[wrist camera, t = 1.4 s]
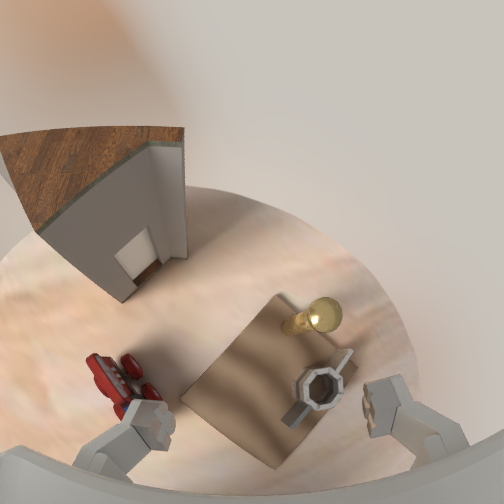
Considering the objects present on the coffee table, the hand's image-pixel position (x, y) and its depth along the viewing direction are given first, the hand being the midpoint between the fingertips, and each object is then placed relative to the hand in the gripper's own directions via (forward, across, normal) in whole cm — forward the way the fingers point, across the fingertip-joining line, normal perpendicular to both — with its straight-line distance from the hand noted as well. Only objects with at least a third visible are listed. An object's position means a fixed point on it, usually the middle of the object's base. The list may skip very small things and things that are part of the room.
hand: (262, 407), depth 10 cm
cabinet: (+31, +24, +4) cm, 40 cm away
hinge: (+25, -2, +25) cm, 36 cm away
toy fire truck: (+20, +24, +19) cm, 36 cm away
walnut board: (+25, +3, +24) cm, 35 cm away
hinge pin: (+31, 0, +17) cm, 35 cm away
